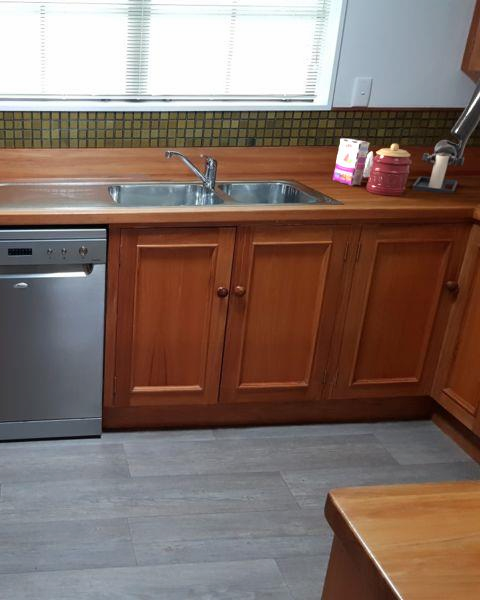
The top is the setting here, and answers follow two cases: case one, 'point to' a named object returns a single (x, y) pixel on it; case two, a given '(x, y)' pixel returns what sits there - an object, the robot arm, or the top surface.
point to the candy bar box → (351, 161)
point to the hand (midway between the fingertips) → (441, 161)
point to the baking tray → (423, 185)
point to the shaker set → (368, 165)
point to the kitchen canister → (389, 171)
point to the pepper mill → (439, 170)
